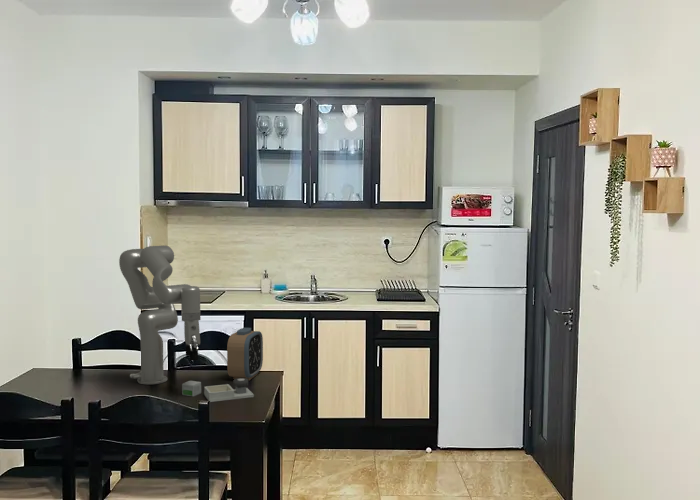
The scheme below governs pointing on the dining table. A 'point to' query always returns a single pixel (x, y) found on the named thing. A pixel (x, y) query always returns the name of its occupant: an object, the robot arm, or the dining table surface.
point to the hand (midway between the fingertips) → (191, 358)
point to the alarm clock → (244, 353)
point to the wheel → (240, 382)
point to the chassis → (226, 393)
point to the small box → (191, 388)
